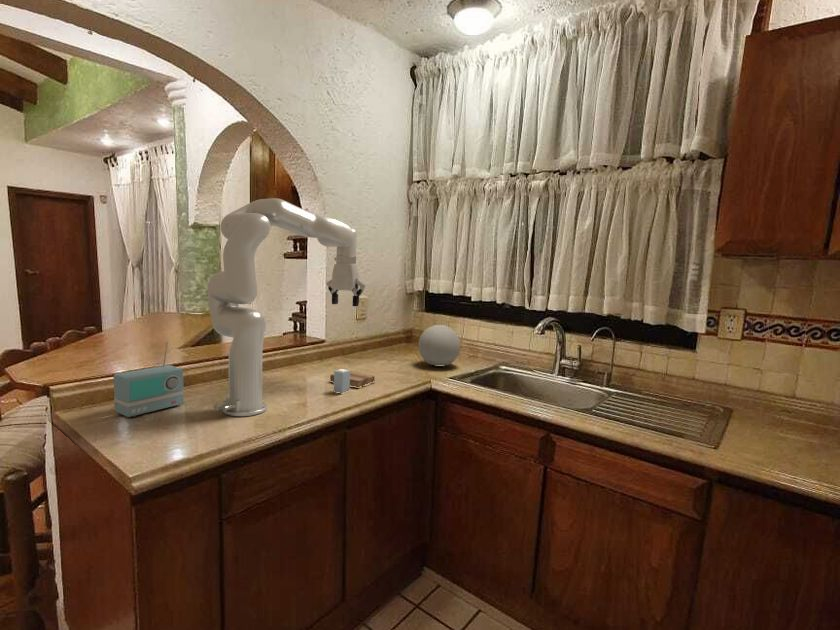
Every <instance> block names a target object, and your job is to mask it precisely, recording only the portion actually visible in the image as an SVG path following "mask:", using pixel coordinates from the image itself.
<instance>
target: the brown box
mask: <svg viewBox="0 0 840 630" xmlns="http://www.w3.org/2000/svg"><path fill="white" fill-rule="evenodd" d="M349 371H350V385H351V386H356V387H360V386H363V385H365V384H368V383H370V382H373V381H374V382H375V375H371V374H366V373H361V372H358V371H352V370H349ZM329 378H330V380H329V382H330V381H333V382H334V373H332V374H330V377H329Z"/></svg>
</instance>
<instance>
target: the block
mask: <svg viewBox="0 0 840 630" xmlns="http://www.w3.org/2000/svg"><path fill="white" fill-rule="evenodd" d="M350 371H351V370H348V369H343V368H340V369H337V370H334V371H333V374H334V383H333V392H334V391H335V392H340V393H343V392H346V391H349V390H350V391H351V389H350V388H351V387H350Z"/></svg>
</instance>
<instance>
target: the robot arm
mask: <svg viewBox="0 0 840 630" xmlns="http://www.w3.org/2000/svg"><path fill="white" fill-rule="evenodd" d="M271 226H274V227H278V228H280V229H283V230H286V231H288V232H290V233H292V234H294V235H295V234H296V235H297V236H301V237H304V238H305V237H306V238H315V239H317V241H318V243H320V244H321V246H325V247H333V248H334V247H335V248H336V257H334V259H333V260H334V261H335V262H336V264H335V263H334V265H333V268H332V269H333V270H332V273H331V280H329V281H327V282H326V285H327V289H328V291H329V292H330V294H331V305H338V304H339V294H338V292H339V291H347V292H348V291H350V292H352V294H353V296H352V306H353V307H359V304H360V296H361V294H362V293H363V292H364V291H365V289H366V284H365V283H363V282H362V281H360V276H359V269H358V265H357V245H358V243H357V242H358V241H357V240H358V239H357V238H358V236H357V235H358V233H357V230H356V229H354V228H351V227H350V225H348V224H346V223H344V222H341V221H339V220H336V219H334V218H332V217H327V216H324V215H320V214H317V213H313V212H310V211H307V210H305V209H303V208H301V207H299V206H297V205H295V204H293V203H290V202H289V201H286V200H284V199H281V198H278V197H277V198H276V197H275V198H274V197H272V198H261V199H257V200H253V201H251V202H249V203H247V204H245V205H243V206H242V207H240V208H238V209H235V210H234V211H231V212H230V213H228V214H226V215H225V216H224V217H223V218H222V219H221V222H220V231H221V235H223V237H224V238H225V239H227V241H226V242H225V244H224V247H223V252H222V263H223V271H218V272H216V273H214V274H213V275H212V276H211V277H210V278H209V281H208V283H207V288H206V289H207V298H208V307H209V314H210V315H209V316H210V321H211V325H212V327H213V329H214V331H215V332H216V333H217V334H219V335H221V336H224V337H228V338H229V337H230V338H232V341H231V344H230V347H229V350H228V396H226V397H225V400H223V402H218V403H216V404H213V410H214V411H215V412H217V411H220V410H222V412H223V413H224V414H225V415H227V416H230V417H231V416H232V417H250V416H256V415H260V414H262V413H264V412H265V411H267V409H268V404H267V402H265V401H263V347H264V339H265V333H266V330H267V329H266V328H267V323H266V322H267V321H266V319H265V316H264V315H263V314H262V313H261V312H260V311H258V310H256V309H252V308H247V307H241V306H239V305H249V304H251V303H253V302H255V301H256V298H257V296H258V285H257V284H258V283H257V276H256V275H257V274H256V265H255V264H256V263H255V255H256V251H257V249H258V247H259V246H260V244H261V243H262V242H263V241H264V240H265V239H266V238H267V237H268V236H269V233H270V231H271Z"/></svg>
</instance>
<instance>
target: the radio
mask: <svg viewBox="0 0 840 630" xmlns="http://www.w3.org/2000/svg"><path fill="white" fill-rule="evenodd" d="M168 343H169V341H168V340H167V341H166V344H165V348H164V349H165V350H164V358H163V365H161V366H154V367H149V368H145V369H144V368H143V369H137V370H132V371H126V372H118V373H114V374H113V398H114V412H116V413H118V414H120V415H122V416H125V417H127V418H137V417H138V416H139V415H144V414H146V413H151V412H155V411H159V410H163V409H167V408H170V407H171V408H177V407H178V406H179V405H183V404H184V369H183V368H181V367H178V366H173V365H169V364H167V365H165V364H166V359H167V358H166V357H167V351H168V349H167V348H168Z"/></svg>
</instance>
